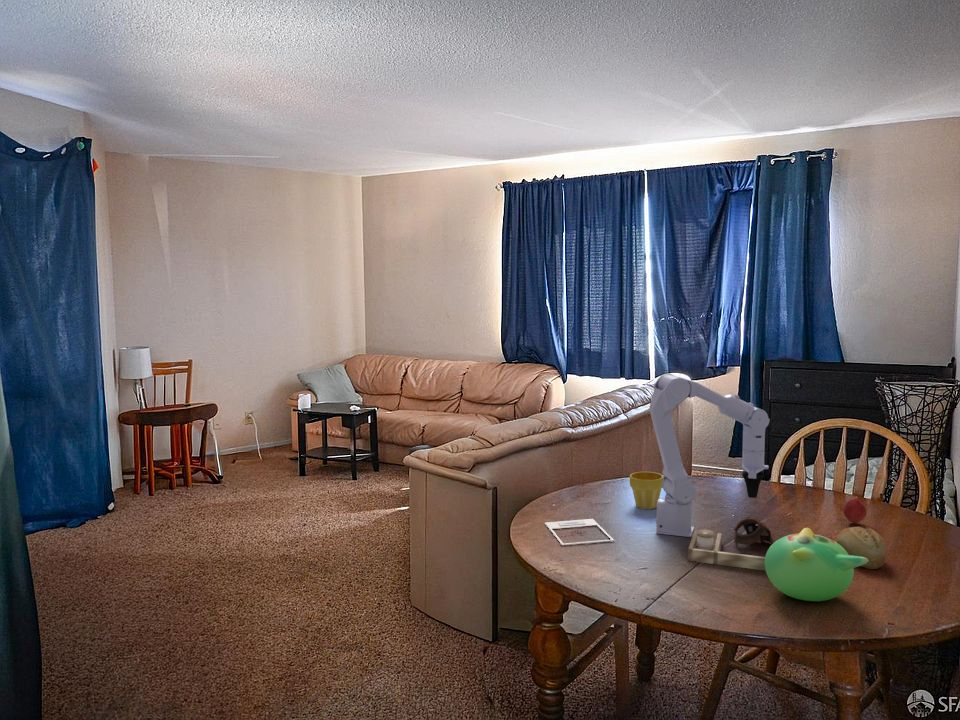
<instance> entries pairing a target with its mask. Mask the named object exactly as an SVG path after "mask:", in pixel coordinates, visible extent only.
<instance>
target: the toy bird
mask: <svg viewBox="0 0 960 720" xmlns="http://www.w3.org/2000/svg"><path fill="white" fill-rule="evenodd" d="M764 557H765V569H766V571H765V573H766V575H767V577H768V579H769V581H770V583H771V584H772V585H773V586H774V587H775V588H776V589H777V590H778V591H779V592H781V593H782V594H785V595H786V596H789V597H790V598H793V599H796V600H800V601H806V602H824V601H829V600H831V599H835V598H837V597H839V596H841V595H842V594H843V593H845V592H846V591H847V590H848V589H849V587H850V586H851V584H852V582H853V581H854V575H855V571H854V569H855V568H857V567H858V568H859V567H862V566H861V565H864V564H866V563H867V562H868V559H867V558H865V557H860V556H851V555H848V553H847V552H846V550H845V549H844V548H843V547H842V546H841V545H839V544H838V543H837V542H836V540H833V539H831V538H829V537H826V536H823V535H819V534H815V533H814V531H812V529H811V528H809V527H804V528H802V529H801V531H799V533H792V534H788V535H785V536H783V537H780V538H779V539H778V538H777V540H775V541H773V544H772V545H770V546H769V548H768V549H767V550H766V554H765V556H764Z"/></svg>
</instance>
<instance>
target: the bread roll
mask: <svg viewBox="0 0 960 720" xmlns="http://www.w3.org/2000/svg"><path fill="white" fill-rule="evenodd" d="M835 542H836V543H838V544H839V545H841V546H842V547H843V548H844V549H845V550H846V552H847V553H848V555H851V556H860V557H865V558H867V559H868V562H867V563H866V564H864V565H861V566H860V567H862V568H865V569H868V570H875V569H879V568H881V567H882V566H884V564H885V562H886V560H887V558H888V557H887V553H888V551H887V550H888V549H887V546H886V542H885V541H884V539H883V537H882V536H881V535H880V534H879V532H877V531H875V529H873V528H871V527H868V526H851V527H846V528H844V529H841V530H840V532H839V533H838V535H837V536H836V540H835Z"/></svg>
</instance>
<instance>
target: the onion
mask: <svg viewBox="0 0 960 720" xmlns="http://www.w3.org/2000/svg"><path fill="white" fill-rule="evenodd" d="M842 511H843V515H844V517H845V518H846V519H847V520H848V521H849V522H851V523H852V524H853V525H857V524H858V523H860V522H862V521H863V520H864V519H865V518H866V517H867V513H868V512H867V508H866V506H865V504H863V502H862V501H860V500H859V497H858V496H854V497H853V498H851V499H850V500H848V501H846V502H845V504H844V506H843V508H842Z"/></svg>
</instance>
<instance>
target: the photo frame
mask: <svg viewBox="0 0 960 720" xmlns="http://www.w3.org/2000/svg"><path fill="white" fill-rule="evenodd" d="M544 525H545V526H546V527H548V528H549V529H548V528H547V529H548V531H551V532H552V533H553V534H552V533H551V532H550V533H551V534H552V536H553V537H554V536H555V537H556V538H557V539H556V538H555V537H554V538H555V539H556V541H557V540H558V541H559V542H560V543H559V542H558V541H557V542H558V543H559V545H570V544H580V543H594V542H603V541H614V542H615V539H614V538H613V537H612V536H611V535H610V534H609V533H607V531H606V530H605V529H604V528H603V527H602V526H601V525H600V524H599V523H598V522H597V521H596V520H595V519H594V518H587V519H586V518H584V519H572V520H571V519H570V520H562V521H561V520H560V521H547V522H544ZM592 525H597V526H598V527H599V528H600V529H601V530H602V531H603V532H604V533H605V534H606V535H607V536H608V537H609V538H610V540H609V539H601V540H590V541H589V540H588V541H587V540H586V541H577V542H566V543H564V542H563V541H562V539H560V537H559V536H558V535H557V533H556V532H555V530H552V529H560V530H562V529H561V528H570V527H582V526H592Z"/></svg>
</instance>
